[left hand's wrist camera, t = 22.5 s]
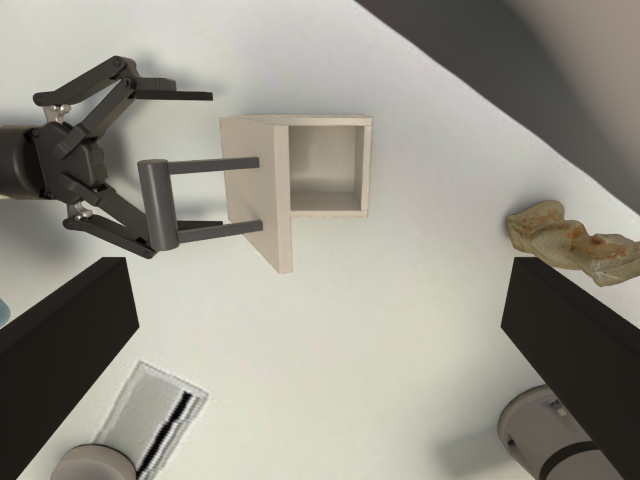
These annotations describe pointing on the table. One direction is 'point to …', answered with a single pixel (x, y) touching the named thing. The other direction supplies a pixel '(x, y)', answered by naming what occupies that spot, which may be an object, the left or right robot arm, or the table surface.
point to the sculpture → (573, 244)
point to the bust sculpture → (93, 465)
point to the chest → (326, 163)
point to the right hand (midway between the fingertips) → (215, 166)
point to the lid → (231, 191)
